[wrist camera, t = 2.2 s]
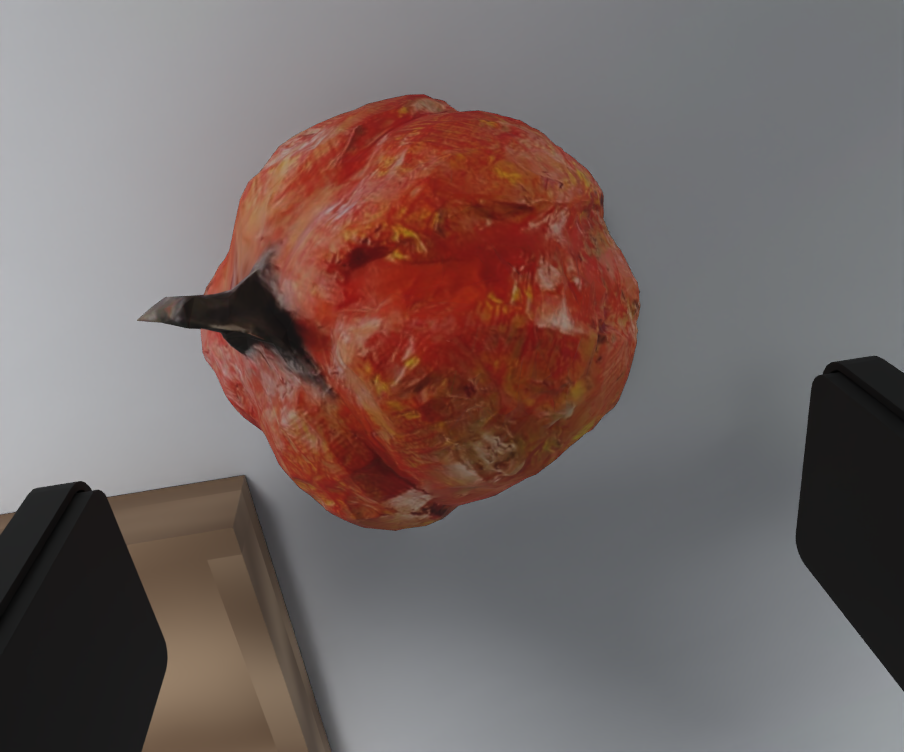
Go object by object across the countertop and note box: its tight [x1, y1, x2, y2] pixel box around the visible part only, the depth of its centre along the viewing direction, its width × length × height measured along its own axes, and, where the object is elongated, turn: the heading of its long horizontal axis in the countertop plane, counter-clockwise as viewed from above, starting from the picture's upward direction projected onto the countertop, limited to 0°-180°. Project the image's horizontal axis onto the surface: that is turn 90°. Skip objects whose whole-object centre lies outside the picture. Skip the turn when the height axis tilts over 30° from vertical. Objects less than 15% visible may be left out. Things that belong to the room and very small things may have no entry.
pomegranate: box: [137, 94, 640, 531], centre depth 14 cm, size 7×7×10 cm
